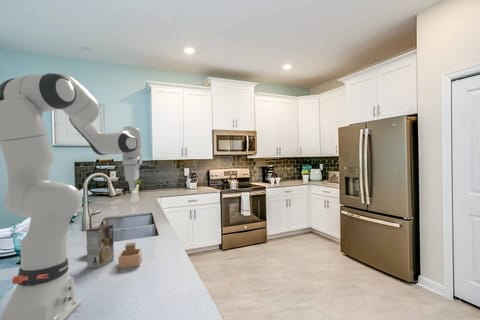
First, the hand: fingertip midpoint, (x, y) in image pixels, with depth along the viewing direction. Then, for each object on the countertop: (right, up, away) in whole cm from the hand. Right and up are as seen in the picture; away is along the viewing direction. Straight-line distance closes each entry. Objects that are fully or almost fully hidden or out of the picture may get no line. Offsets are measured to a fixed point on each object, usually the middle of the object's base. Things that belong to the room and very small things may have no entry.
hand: (133, 189), depth 124 cm
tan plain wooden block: (+4, -31, -12) cm, 33 cm away
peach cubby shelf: (+4, -31, -12) cm, 34 cm away
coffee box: (-10, -32, -10) cm, 35 cm away
